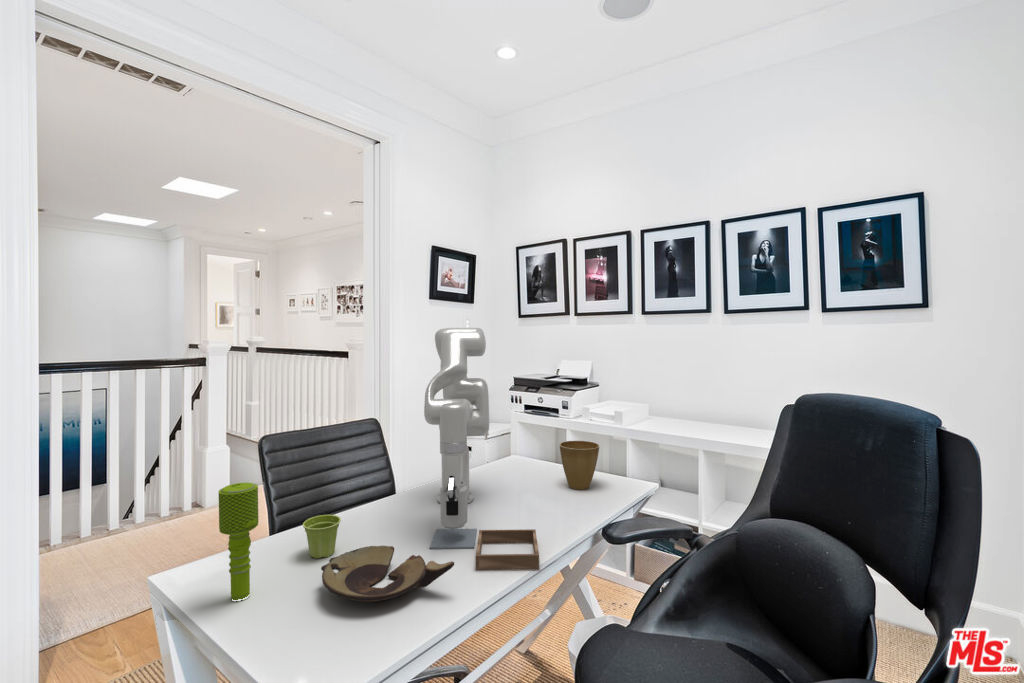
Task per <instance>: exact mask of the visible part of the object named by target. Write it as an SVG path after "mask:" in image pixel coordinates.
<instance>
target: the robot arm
mask: <svg viewBox="0 0 1024 683" xmlns="http://www.w3.org/2000/svg"><path fill="white" fill-rule="evenodd" d="M486 342H487V341H486V337H485V332H484V331H483V329H482V328H480V327H445V328H440V329H438V330H437V331H436V332H435V334H434V343H435V348H436V352H437V354H438V357H439V359H440V371H439V372H437V373H436V374H435V375H434V376H433V377H432V379H430V381H429V383H428V384H427V385H426V386H427V387H426V388H425V393H424V404H423V410H424V411H423V413H424V415H423V416H424V419H425V421H426V423H427V424H429V425H433V426H438V428H439V429H438V430H439V453H440V454H441V487H442V490H443V491H445V490H446V489H447V500H446V515H447V516H455V515H458V500H457V491H458V490H460V486H461V483H462V481H464V482H465V484H464V485H465V486H466V487H467V505H468V504H469V503H473V501H474V500H475V496H474V494H473V493H472V492H470V449H469V446H468V442H467V441H468V437H481V436H482V437H484V436H485V435H487V434H488V433H489V430H490V404H489V401H490V400H489V398H490V396H489V387H488V383H487V381H486V380H485V379H484V378H479V377H478V378H477V377H470V378H468V357H482V356H484V355H485V352H486V348H487V346H486V344H487V343H486ZM440 391H442V396H443V398H435V396H436V395H437V393H439V392H440ZM473 406H474V407H475V408H474V407H473ZM454 487H456V489H453V488H454ZM453 492H455V494H454V493H453ZM437 502H438V503H439V504H440V494H439V495H437Z"/></svg>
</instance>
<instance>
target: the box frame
mask: <svg viewBox="0 0 1024 683" xmlns="http://www.w3.org/2000/svg"><path fill="white" fill-rule="evenodd" d="M476 544H477V545H476V552H475V571H512V570H514V571H516V570H517V571H518V570H519V571H521V570H528V571H529V570H537V571H538V570H540V553H539V546H538V545H539V544H538V539H537V530H536V528H535V529H479V530H478V538H477V543H476ZM483 544H485V545H486V544H487V545H489V544H491V545H492V544H496V545H497V544H498V545H499V544H503V545H504V544H532V547H533V549H532V550H533V553H515V554H514V553H510V554H509V553H507V554H505V553H500V554H497V553H496V554H493V553H492V554H491V553H490V554H482V547H483Z"/></svg>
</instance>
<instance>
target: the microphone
mask: <svg viewBox="0 0 1024 683" xmlns="http://www.w3.org/2000/svg"><path fill="white" fill-rule="evenodd" d="M258 526H259V486H258V484H257V483H253V482H237V483H232V484H229V485H225V487H224V486H223V488H220V489H219V490H218V528H219V533H221V534H222V535H226V536H227V535H228V543H227V546H228V547H227V550H228V552H230V554H229V555H228V558H229V563H228V566H229V567H230V568H229V570H228V572H229V574H230V600H231V599H233V600H238V599H243V598H245V597H247V596H248V595H249V594H250V595H251V592H250V591H251V583H250V582H251V581H250V580H251V577H250V576H251V574H250V571H251V568H252V565H251V564H250V563H251V561H252V560H251V558H250V555H251V551H250V548H251V543H252V541H251V540H252V539H251V537H250V535H251V534H250V531H252V530H255V528H256V527H258Z"/></svg>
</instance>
